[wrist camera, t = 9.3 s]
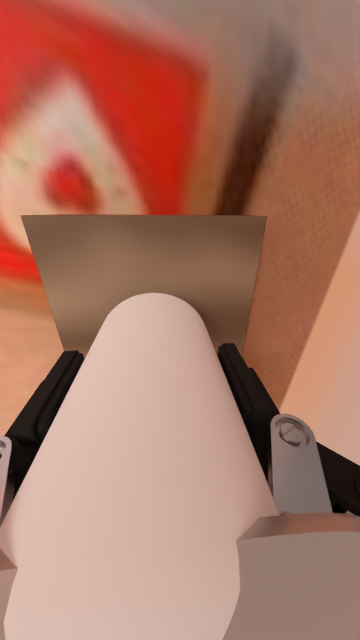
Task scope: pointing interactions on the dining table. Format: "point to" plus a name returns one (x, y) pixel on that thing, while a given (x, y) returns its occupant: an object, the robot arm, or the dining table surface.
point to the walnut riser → (146, 268)
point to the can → (137, 491)
